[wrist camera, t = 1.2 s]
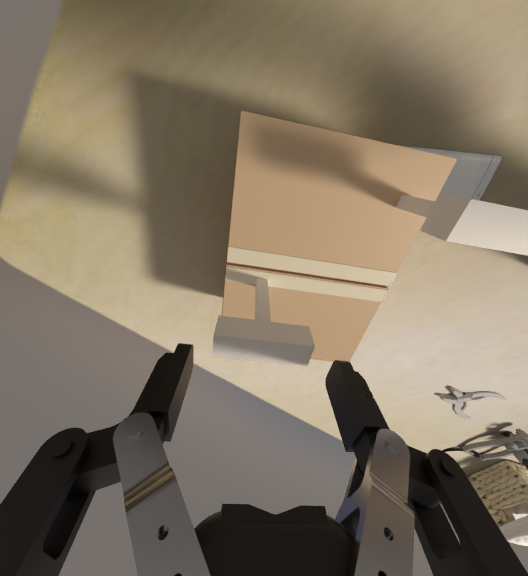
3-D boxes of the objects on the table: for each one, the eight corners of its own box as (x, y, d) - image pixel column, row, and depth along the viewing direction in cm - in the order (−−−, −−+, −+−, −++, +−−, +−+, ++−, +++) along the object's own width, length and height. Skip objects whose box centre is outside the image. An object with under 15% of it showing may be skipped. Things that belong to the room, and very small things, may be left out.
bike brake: (519, 422, 53) (436, 441, 64) (546, 456, 48) (451, 470, 58) (537, 437, 58) (458, 453, 68) (564, 470, 53) (473, 481, 63)
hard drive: (373, 221, 27) (465, 229, 28) (398, 144, 23) (506, 155, 24) (367, 218, 29) (455, 225, 29) (390, 145, 25) (492, 155, 25)
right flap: (385, 285, 22) (459, 356, 14) (346, 359, 27) (384, 441, 19) (227, 262, 20) (206, 327, 12) (219, 345, 25) (201, 429, 17)
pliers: (471, 423, 52) (429, 407, 48) (466, 416, 54) (425, 400, 50) (511, 401, 48) (468, 382, 44) (504, 395, 49) (462, 375, 45)
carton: (388, 160, 25) (654, 155, 8) (328, 312, 36) (389, 443, 19) (247, 130, 23) (218, 44, 6) (228, 299, 34) (200, 430, 17)
